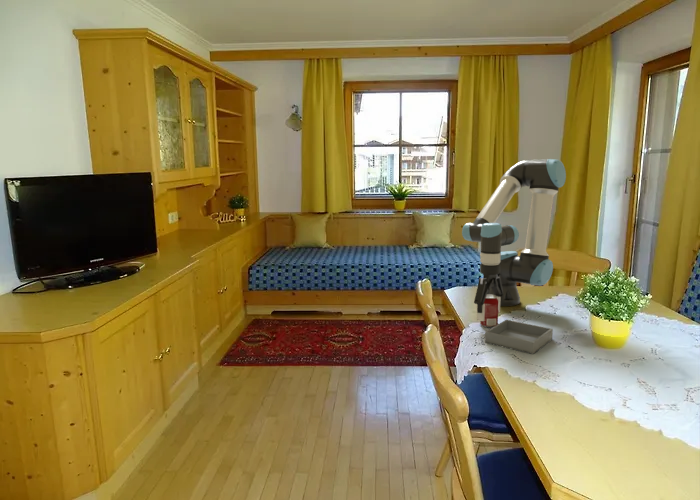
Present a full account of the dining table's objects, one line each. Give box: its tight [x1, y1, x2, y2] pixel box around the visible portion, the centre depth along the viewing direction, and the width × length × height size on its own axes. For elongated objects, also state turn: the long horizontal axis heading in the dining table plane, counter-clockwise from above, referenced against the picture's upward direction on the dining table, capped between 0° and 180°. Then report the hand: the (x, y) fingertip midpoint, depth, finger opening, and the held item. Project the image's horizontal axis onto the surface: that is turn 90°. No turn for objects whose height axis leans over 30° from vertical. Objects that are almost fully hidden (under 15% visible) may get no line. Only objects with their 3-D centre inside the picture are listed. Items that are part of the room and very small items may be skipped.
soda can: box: [479, 294, 499, 329], centre depth 191 cm, size 7×7×12 cm
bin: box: [484, 319, 554, 355], centre depth 174 cm, size 17×17×4 cm
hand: (488, 316), depth 191 cm, fingers open, 13 cm apart
